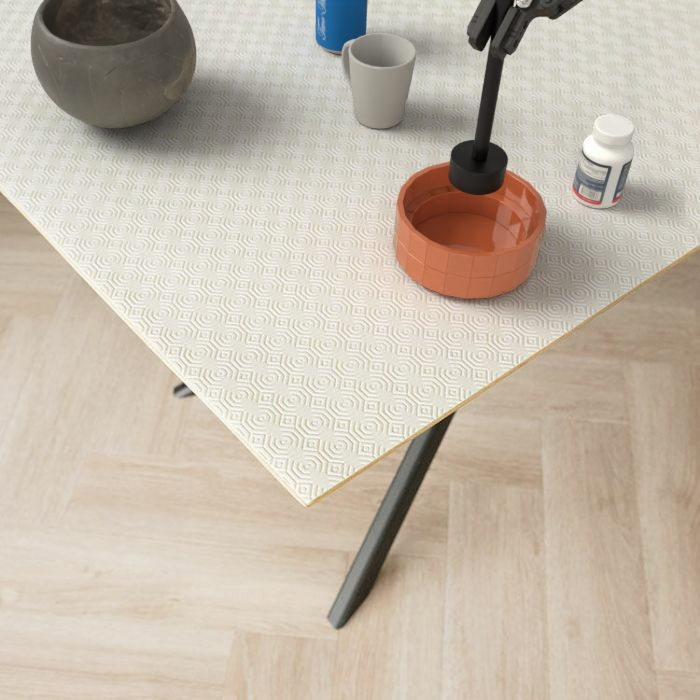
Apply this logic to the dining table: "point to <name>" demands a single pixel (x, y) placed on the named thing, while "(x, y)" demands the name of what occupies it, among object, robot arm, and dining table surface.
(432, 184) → the mixing bowl
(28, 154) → the dining table surface
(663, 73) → the dining table surface
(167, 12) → the bowl
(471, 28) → the robot arm
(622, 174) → the pill bottle
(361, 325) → the dining table surface
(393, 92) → the cup
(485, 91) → the black plunger
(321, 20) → the beverage can
